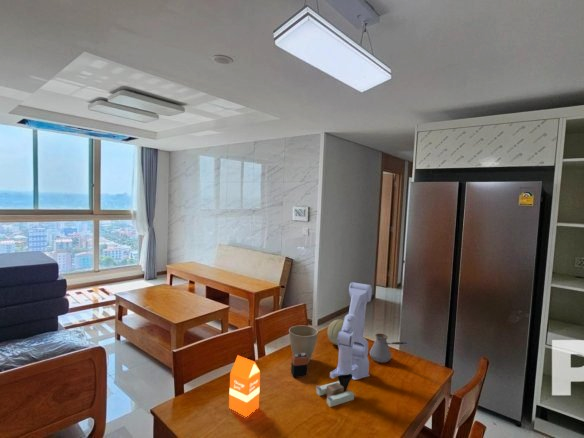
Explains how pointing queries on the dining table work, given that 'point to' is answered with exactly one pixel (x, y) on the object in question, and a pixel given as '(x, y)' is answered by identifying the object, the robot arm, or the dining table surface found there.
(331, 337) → the cantaloupe
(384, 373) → the dining table surface
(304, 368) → the battery
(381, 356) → the coffee pot
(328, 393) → the block
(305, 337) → the plant pot
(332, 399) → the rails
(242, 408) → the orange juice
